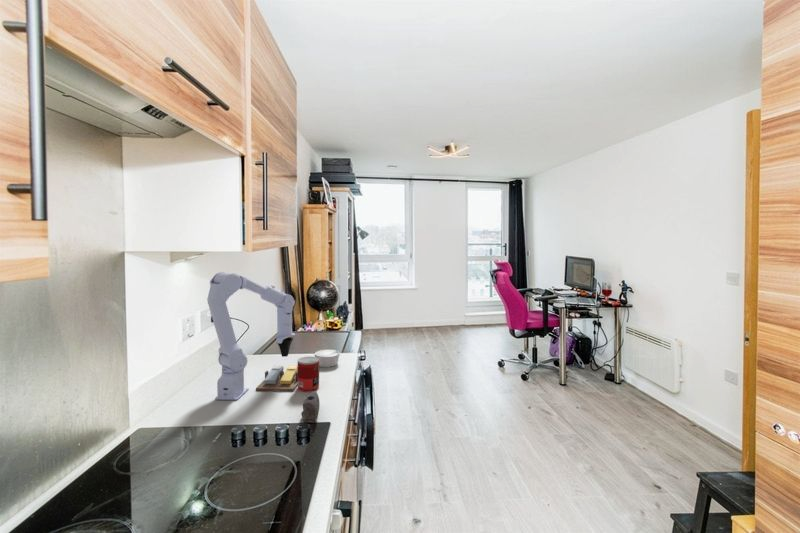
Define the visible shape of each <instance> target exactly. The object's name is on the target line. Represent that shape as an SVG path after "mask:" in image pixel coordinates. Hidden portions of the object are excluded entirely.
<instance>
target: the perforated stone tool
mask: <svg viewBox="0 0 800 533" xmlns="http://www.w3.org/2000/svg"><path fill="white" fill-rule="evenodd" d="M320 405H321V404H320V397H319V395H318V393H317V392H316V391H309V393H307V395H306V396H305V398H304V399H303V401H302V410H303V411H301V414H300V415H301V417H302V420H303V422H304V423H312V424H313V423H315V422H316V421H317V419H318V416H319V411H320Z"/></svg>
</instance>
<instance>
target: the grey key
mask: <svg viewBox="0 0 800 533" xmlns="http://www.w3.org/2000/svg"><path fill="white" fill-rule="evenodd" d="M281 371H284V366H283V365H282V364H280V365H277V364H276V365H275V364H274V365H273V366H272V368H271V369H270V371H268V375H267V377H266V378H265V377H264V380H263V381H264V382H265V384H275V383H276V381H277V380H278V378H279V376H280V372H281Z"/></svg>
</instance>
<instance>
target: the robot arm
mask: <svg viewBox="0 0 800 533" xmlns="http://www.w3.org/2000/svg"><path fill="white" fill-rule="evenodd" d="M209 285H210V286H209V291H208V295H207V298H206V300H207V305H208V308H209V310H210V315H211V317H212V321H213V325H214V328H215V332H216V335H217V339H218V343H219V345H220V347H219V348H218V349H217V350H218V358H217V360H218V364H219V365H221V375H220V377H219V378H218V380H217V383H216V384H217V386H216V388H217V395H216V397H215V398H214V400H217V401H218V400H223V401H225V400H227V401H237V400H239V399H240V398H241V397H243V395H244V394H245V393H246V392H248V391H249V387H245V368H246V366H247V365H248V357H247V356H246V354H245V353H244V352H243V348H242V347H241V346H240V345H239V343H238V342H237V338H236V335H235V330H234V328H233V324H232V320H231V317H230V314H229V309H228V306H227V301H228V300H229V299H230V297H232V295H234V294H235V293H236V292H238V291H239V290H244V289H245V290H248V291H251V292H253V293H255V294H258V295H260V298H261V300H263V301H266V302H267V303H270V304H272V305H274V306H275V307H276V308H277V309H276V313H277V316H276V318H277V320H276V321H277V325H276V327H277V328H276V330H277V334H276V339H275V340H276V341H275V342H276V344H277V345H278V348H279V350H280V354H281V357H283V358H284V357H288V356H289V352H290V348H291V344H292V342H293V340H294V337H295V336H296V333H295V332H293V308H294V307H295V304H296V300H295V299H294V297H293V296H292V295H291V294H288V293H285V291H284V290H279V289H276V286H275V285H266V286H263V285H261V284H259V283H257V282H255V281H253V280H251V279H250V278H248V277H245V276H242V275H239V274H237V273H229V272H224V271H223V272H222V271H220V272H217V273H215V274H214V276H213V277H212V278H211V279H210V281H209Z"/></svg>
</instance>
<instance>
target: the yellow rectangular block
mask: <svg viewBox="0 0 800 533" xmlns="http://www.w3.org/2000/svg"><path fill="white" fill-rule="evenodd" d="M297 371H298V365H288V366H287V368H286V370H285V371H284V375H283V376H282V378H281V380H280V384H291V383H292V381H293V379H294V377H295V375H296V374H295V373H296V372H297Z"/></svg>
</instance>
